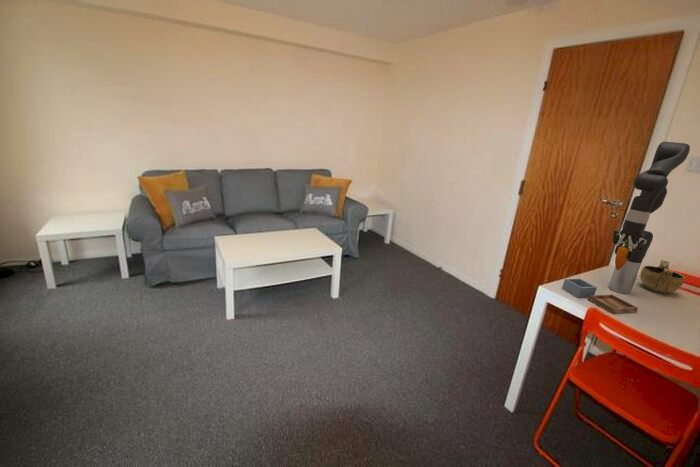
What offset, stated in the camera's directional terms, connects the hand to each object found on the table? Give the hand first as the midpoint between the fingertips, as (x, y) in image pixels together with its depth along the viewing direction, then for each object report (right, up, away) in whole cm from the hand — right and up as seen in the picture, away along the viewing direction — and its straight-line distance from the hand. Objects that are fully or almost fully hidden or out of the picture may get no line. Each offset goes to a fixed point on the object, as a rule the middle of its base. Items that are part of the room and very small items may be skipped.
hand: (622, 256), depth 151 cm
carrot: (-1, -7, +2) cm, 7 cm away
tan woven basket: (+42, -20, +30) cm, 56 cm away
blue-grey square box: (-10, -19, +16) cm, 27 cm away
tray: (-1, -24, +6) cm, 24 cm away
